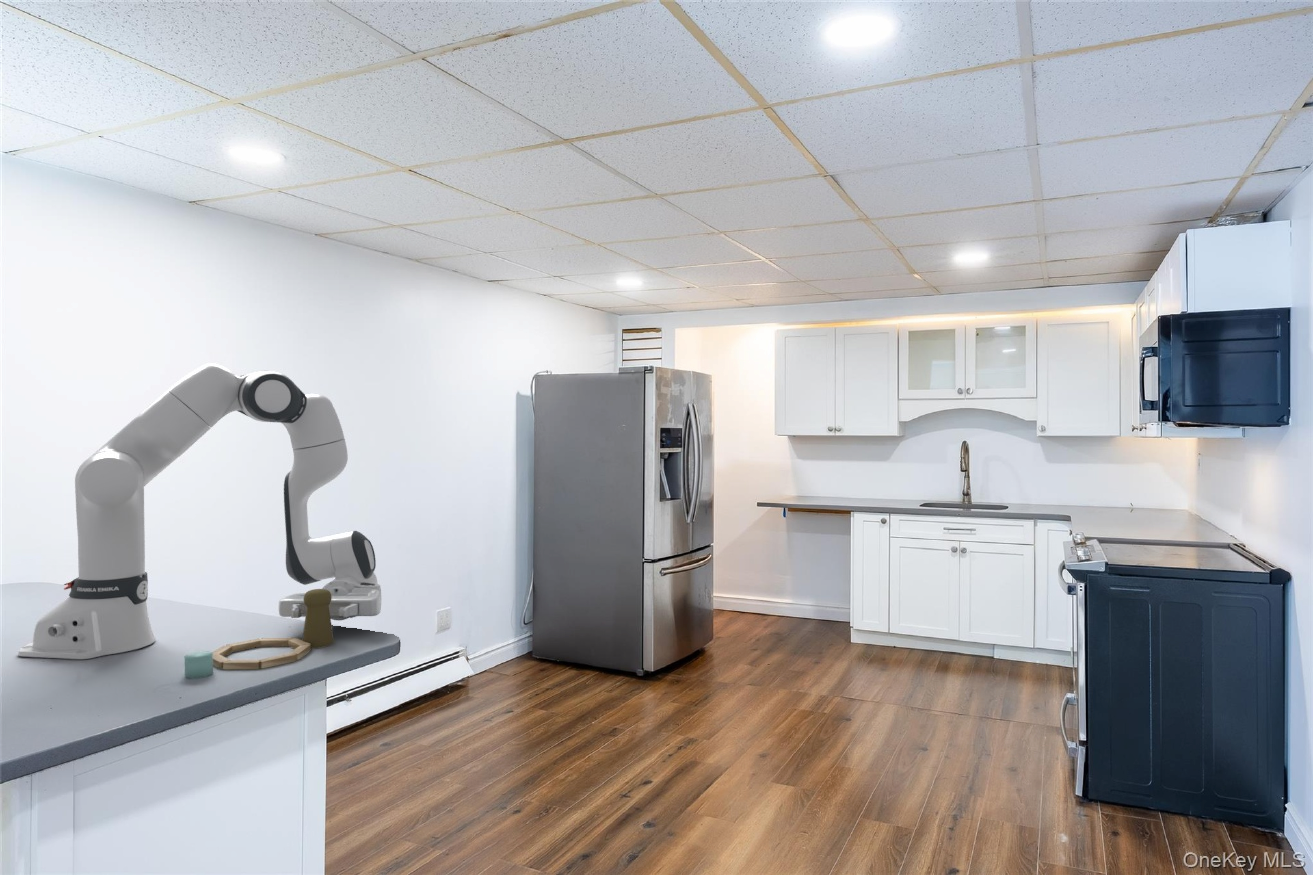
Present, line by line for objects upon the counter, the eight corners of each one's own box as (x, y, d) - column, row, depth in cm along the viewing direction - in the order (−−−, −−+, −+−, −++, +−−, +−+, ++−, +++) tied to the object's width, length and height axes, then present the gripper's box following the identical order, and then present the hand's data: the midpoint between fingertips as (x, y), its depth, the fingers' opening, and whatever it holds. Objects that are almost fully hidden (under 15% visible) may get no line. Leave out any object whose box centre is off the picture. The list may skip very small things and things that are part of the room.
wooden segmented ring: (193, 669, 148) (193, 663, 148) (235, 644, 164) (235, 638, 164) (287, 668, 149) (287, 662, 149) (320, 643, 165) (320, 637, 165)
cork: (322, 649, 161) (322, 593, 161) (295, 647, 163) (294, 592, 162) (340, 640, 167) (339, 587, 167) (313, 639, 168) (313, 586, 168)
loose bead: (180, 679, 143) (179, 659, 143) (192, 670, 147) (191, 651, 147) (206, 678, 143) (205, 658, 143) (217, 670, 148) (217, 651, 147)
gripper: (292, 584, 179) (265, 598, 165) (387, 584, 180) (369, 598, 166) (292, 613, 179) (266, 629, 165) (387, 612, 180) (369, 628, 166)
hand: (318, 613), depth 165 cm, fingers open, 8 cm apart
